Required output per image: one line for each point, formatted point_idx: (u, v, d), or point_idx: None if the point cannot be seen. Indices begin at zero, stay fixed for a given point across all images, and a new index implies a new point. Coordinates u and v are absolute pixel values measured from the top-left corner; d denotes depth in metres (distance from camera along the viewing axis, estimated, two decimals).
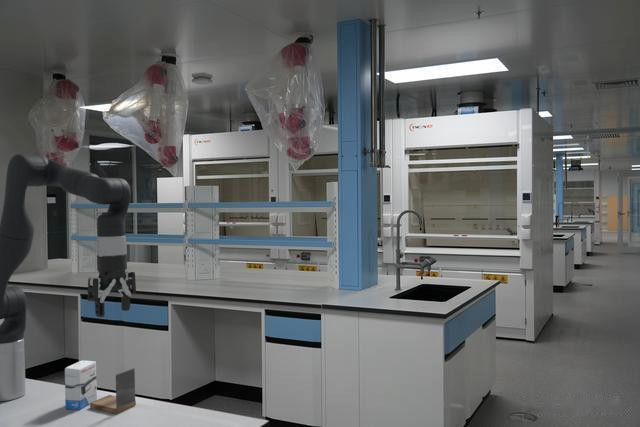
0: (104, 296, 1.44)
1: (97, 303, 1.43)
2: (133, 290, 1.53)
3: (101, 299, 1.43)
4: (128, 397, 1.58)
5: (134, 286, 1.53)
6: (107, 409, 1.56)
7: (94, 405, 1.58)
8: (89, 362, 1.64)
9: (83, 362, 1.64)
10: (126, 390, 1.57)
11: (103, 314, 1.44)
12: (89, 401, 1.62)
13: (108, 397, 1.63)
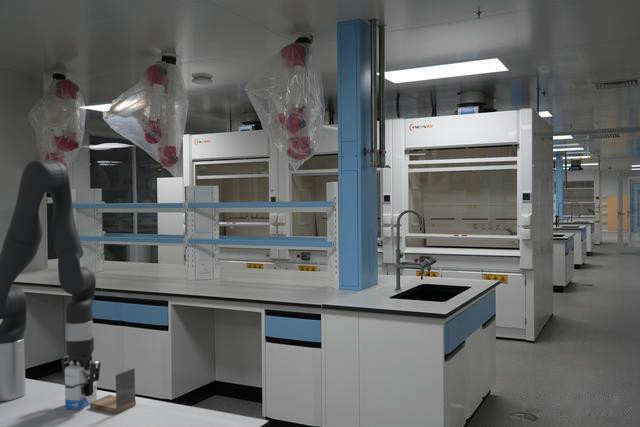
0: None
1: (92, 383, 1.60)
2: None
3: None
4: (128, 397, 1.58)
5: None
6: (107, 409, 1.56)
7: (94, 405, 1.58)
8: None
9: None
10: (126, 390, 1.57)
11: None
12: (89, 401, 1.62)
13: (108, 397, 1.63)
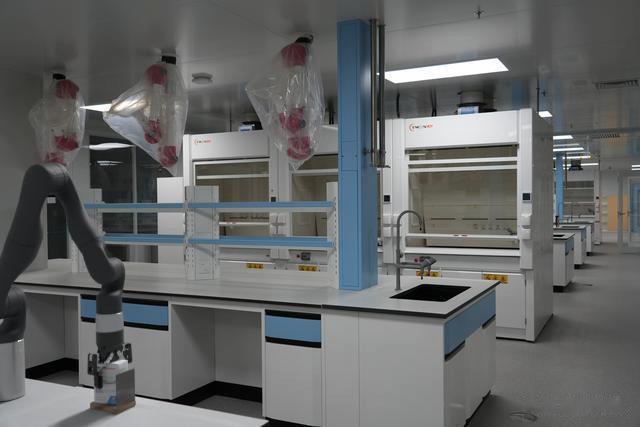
0: None
1: None
2: None
3: None
4: (128, 397, 1.58)
5: None
6: (107, 409, 1.56)
7: (94, 405, 1.58)
8: None
9: None
10: (126, 390, 1.57)
11: None
12: None
13: None
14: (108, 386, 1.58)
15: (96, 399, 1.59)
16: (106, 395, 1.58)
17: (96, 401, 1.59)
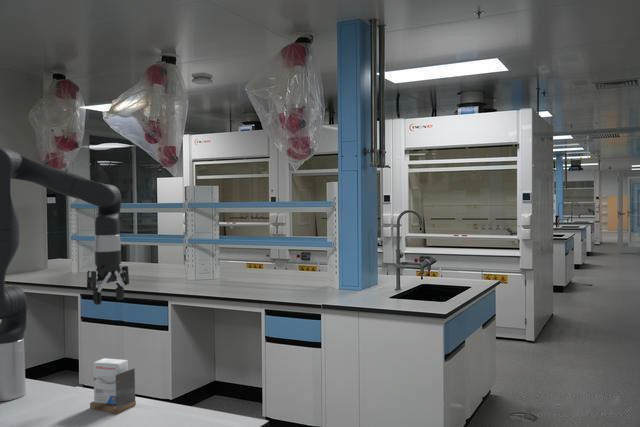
0: None
1: None
2: None
3: None
4: (128, 397, 1.58)
5: None
6: (107, 409, 1.56)
7: (94, 405, 1.58)
8: (105, 359, 1.62)
9: (103, 361, 1.60)
10: (126, 390, 1.57)
11: None
12: None
13: None
14: (108, 386, 1.58)
15: (96, 399, 1.59)
16: (106, 395, 1.58)
17: (96, 401, 1.59)
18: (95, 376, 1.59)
